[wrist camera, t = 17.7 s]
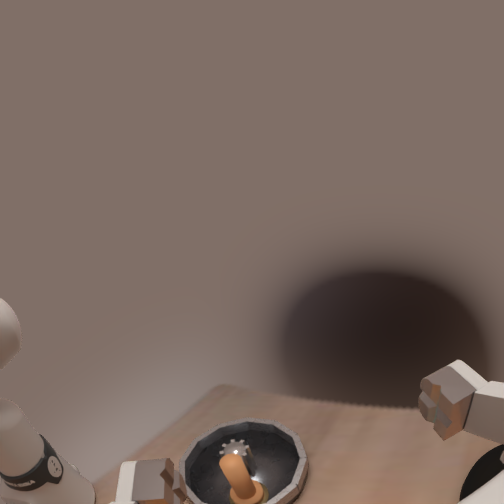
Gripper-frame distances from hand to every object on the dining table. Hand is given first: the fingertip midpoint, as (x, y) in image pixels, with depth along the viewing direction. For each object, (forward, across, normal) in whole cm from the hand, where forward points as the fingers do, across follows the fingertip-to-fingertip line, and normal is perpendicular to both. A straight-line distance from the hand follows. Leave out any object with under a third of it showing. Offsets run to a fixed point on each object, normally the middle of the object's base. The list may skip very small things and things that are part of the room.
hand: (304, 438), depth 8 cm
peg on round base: (+21, +7, +36) cm, 42 cm away
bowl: (+26, +7, +38) cm, 47 cm away
